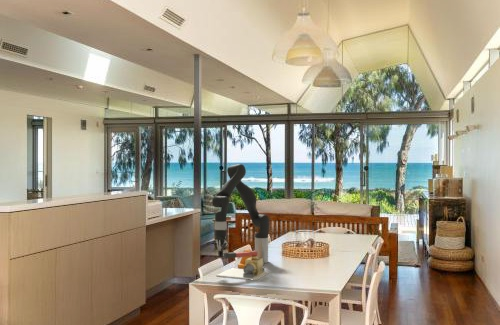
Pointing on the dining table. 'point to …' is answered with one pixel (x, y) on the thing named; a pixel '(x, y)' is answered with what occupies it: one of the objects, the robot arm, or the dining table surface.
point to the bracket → (243, 260)
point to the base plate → (239, 274)
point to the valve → (253, 267)
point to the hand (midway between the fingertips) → (220, 256)
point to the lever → (240, 254)
